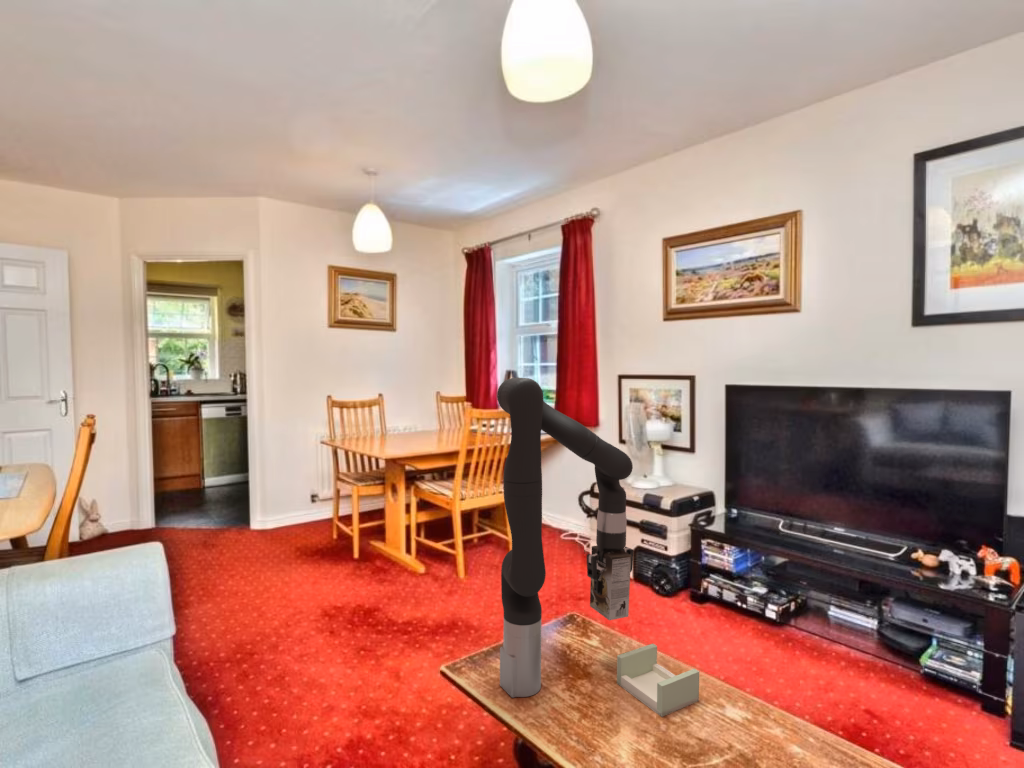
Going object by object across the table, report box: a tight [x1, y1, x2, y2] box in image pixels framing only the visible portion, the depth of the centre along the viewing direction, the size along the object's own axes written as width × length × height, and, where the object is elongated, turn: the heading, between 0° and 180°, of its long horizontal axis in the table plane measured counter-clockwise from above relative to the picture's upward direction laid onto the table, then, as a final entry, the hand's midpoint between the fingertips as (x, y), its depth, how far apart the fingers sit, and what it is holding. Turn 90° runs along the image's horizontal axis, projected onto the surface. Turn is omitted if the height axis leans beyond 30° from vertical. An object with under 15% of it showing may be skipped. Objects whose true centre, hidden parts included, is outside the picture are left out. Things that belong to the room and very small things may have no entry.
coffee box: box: [589, 545, 631, 621], centre depth 143 cm, size 9×6×16 cm
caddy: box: [616, 643, 700, 718], centre depth 133 cm, size 12×15×7 cm
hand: (609, 591), depth 143 cm, fingers closed on coffee box, 6 cm apart
